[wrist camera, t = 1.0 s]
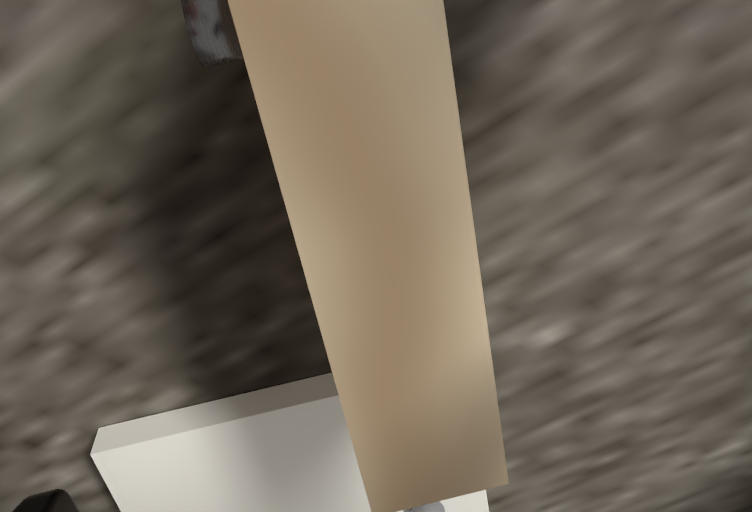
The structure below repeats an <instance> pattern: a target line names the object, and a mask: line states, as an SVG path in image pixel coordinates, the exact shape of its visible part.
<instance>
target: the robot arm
mask: <svg viewBox="0 0 752 512" xmlns="http://www.w3.org/2000/svg"><path fill="white" fill-rule="evenodd" d="M12 512H80V511H79V510H78V508H77V506H76V505H75V503H74V501H73V500H72V498H71V496H70V495H69V494H68V493H67V492H66V491H65V490H62V489H55V490H51V491H47V492H43V493H39V494H35V495H32V496H29V497H27V498H26V499H24V500H23V501H22V502H21V503H20V504H19V505H18V506H17V507H16V508H15V509H14V510H13V511H12Z"/></svg>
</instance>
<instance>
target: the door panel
mask: <svg viewBox="0 0 752 512" xmlns="http://www.w3.org/2000/svg"><path fill="white" fill-rule="evenodd" d="M181 2H182V8H183V12H184V17H185V21H186V24H187V28H188V31H189V35H190V38H191V41H192V44H193V47H194V49H195V52H196V54H197V57H198V59H199V61H200V63H201V64H202V66H203V67H209V66H213V65H217V64H222V63H226V62H231V61H235V60H240V59H244V60H245V64H246V68H247V71H248V75H249V78H250V82H251V85H252V89H253V92H254V96H255V100H256V103H257V107H258V110H259V114H260V117H261V121H262V124H263V128H264V132H265V135H266V139H267V142H268V146H269V149H270V153H271V156H272V160H273V164H274V167H275V171H276V174H277V178H278V181H279V185H280V188H281V192H282V196H283V199H284V203H285V206H286V210H287V213H288V217H289V220H290V224H291V228H292V231H293V235H294V238H295V242H296V245H297V249H298V253H299V256H300V260H301V263H302V267H303V270H304V274H305V277H306V281H307V285H308V288H309V292H310V295H311V299H312V302H313V306H314V309H315V313H316V317H317V320H318V324H319V327H320V331H321V334H322V338H323V341H324V345H325V349H326V352H327V356H328V359H329V363H330V366H331V370H332V373H333V377H334V381H335V384H336V388H337V391H338V395H339V398H340V402H341V405H342V409H343V413H344V416H345V420H346V423H347V427H348V430H349V434H350V437H351V441H352V445H353V448H354V452H355V455H356V459H357V462H358V466H359V469H360V473H361V477H362V480H363V484H364V487H365V491H366V494H367V498H368V501H369V505H370V509H371V512H397V511H401V510H405V509H409V508H413V507H417V506H421V505H426V504H430V503H434V502H438V501H442V500H446V499H450V498H454V497H458V496H462V495H466V494H470V493H474V492H478V491H483V490H487V489H491V488H495V487H499V486H503V485H507V484H509V482H508V475H507V467H506V460H505V453H504V445H503V438H502V430H501V423H500V416H499V408H498V401H497V394H496V386H495V379H494V371H493V364H492V357H491V349H490V342H489V334H488V327H487V320H486V312H485V305H484V297H483V290H482V283H481V275H480V268H479V260H478V253H477V246H476V238H475V231H474V223H473V216H472V209H471V201H470V194H469V186H468V179H467V172H466V164H465V157H464V150H463V142H462V135H461V127H460V120H459V113H458V105H457V98H456V90H455V83H454V76H453V68H452V61H451V53H450V46H449V39H448V31H447V24H446V16H445V9H444V2H443V0H181Z"/></svg>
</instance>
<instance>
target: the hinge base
mask: <svg viewBox="0 0 752 512" xmlns="http://www.w3.org/2000/svg"><path fill="white" fill-rule="evenodd" d="M90 455H91V457H92V459H93V461H94V463H95V465H96V466H97V468H98V470H99V472H100V474H101V476H102V478H103V479H104V481H105V483H106V485H107V487H108V489H109V491H110V492H111V494H112V496H113V498H114V500H115V502H116V503H117V505H118V507H119V509H120V511H121V512H371V509H370V505H369V501H368V498H367V494H366V491H365V487H364V484H363V480H362V477H361V473H360V469H359V466H358V462H357V459H356V455H355V452H354V448H353V445H352V441H351V437H350V434H349V430H348V427H347V423H346V420H345V416H344V413H343V409H342V405H341V402H340V398H339V395H338V391H337V388H336V384H335V381H334V377H333V373H328V374H324V375H319V376H315V377H311V378H307V379H303V380H298V381H294V382H290V383H286V384H282V385H277V386H273V387H269V388H265V389H261V390H256V391H252V392H248V393H244V394H240V395H235V396H231V397H227V398H223V399H219V400H214V401H210V402H206V403H202V404H198V405H193V406H189V407H185V408H181V409H177V410H172V411H168V412H164V413H160V414H156V415H151V416H147V417H143V418H139V419H135V420H130V421H126V422H122V423H118V424H114V425H109V426H105V427H101V428H99V429H98V432H97V435H96V438H95V441H94V444H93V447H92V450H91V453H90ZM397 512H489V508H488V501H487V495H486V490H483V491H478V492H474V493H470V494H466V495H462V496H458V497H454V498H450V499H446V500H442V501H438V502H434V503H430V504H426V505H421V506H417V507H413V508H409V509H405V510H401V511H397Z"/></svg>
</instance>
